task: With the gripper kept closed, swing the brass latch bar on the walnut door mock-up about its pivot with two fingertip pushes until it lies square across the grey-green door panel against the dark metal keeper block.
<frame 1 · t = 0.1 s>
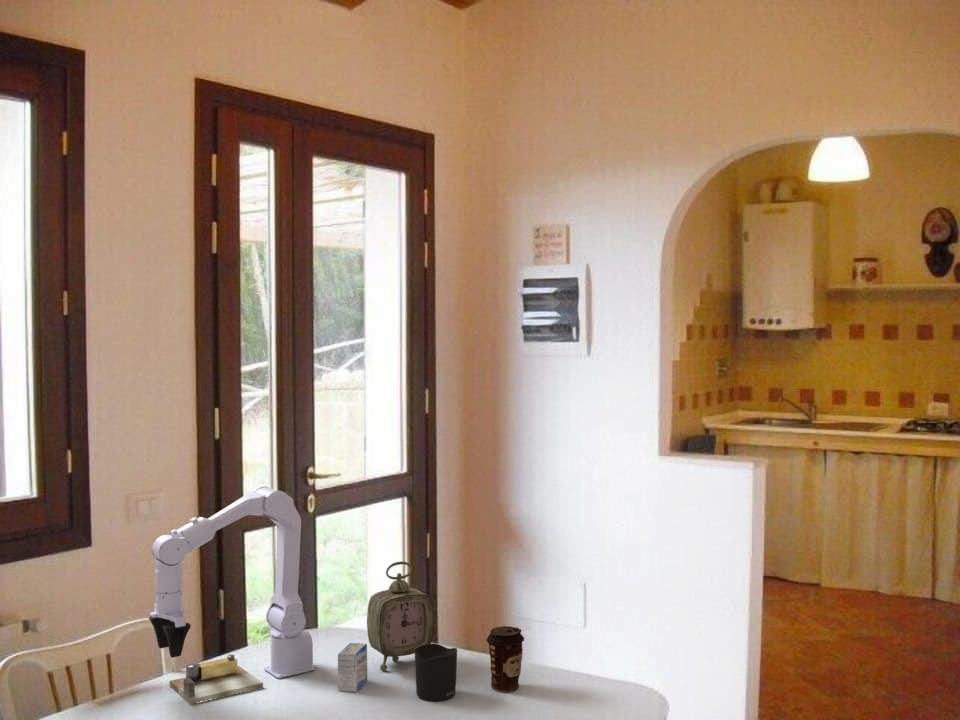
hand: (169, 651, 209), 10 cm above the table, tool pointing down, fingers open, 7 cm apart
latch bar: (211, 667, 218), point 4 cm above the table, hinge at 0.0°
coffee cup: (505, 688, 215), on the table
pen holder: (436, 695, 210), on the table
door mockup: (216, 687, 215), on the table
medicine box: (353, 686, 216), on the table
tabletop clock: (399, 664, 230), on the table
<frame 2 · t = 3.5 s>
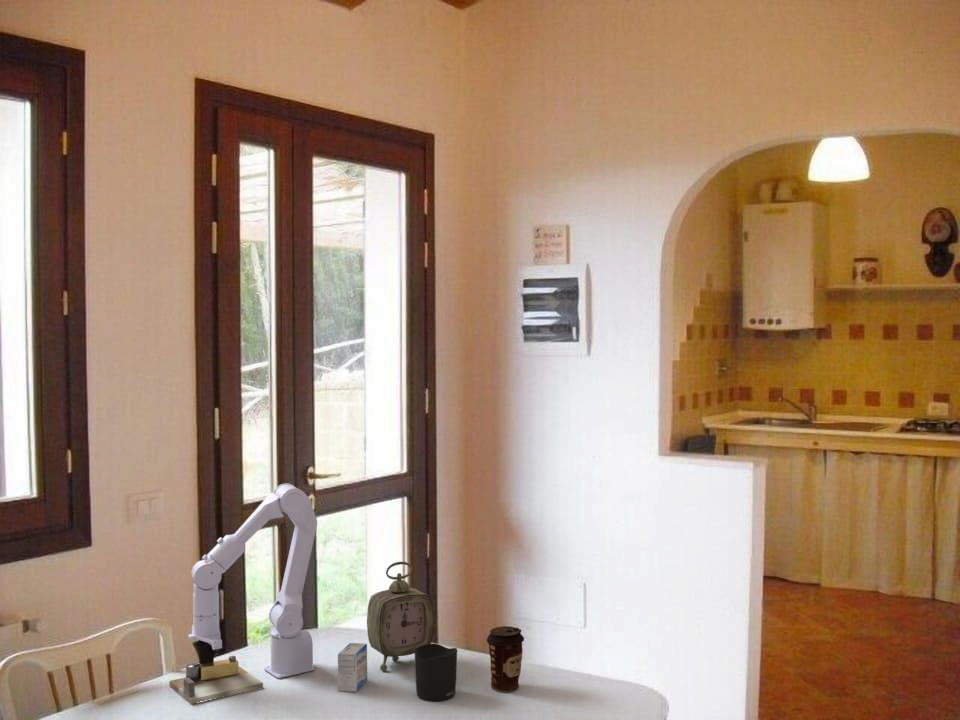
hand: (206, 671, 219), 2 cm above the table, tool pointing down, fingers closed, pressing on latch bar
latch bar: (211, 668, 217), point 4 cm above the table, hinge at 6.5°, touching gripper
everything else where it was.
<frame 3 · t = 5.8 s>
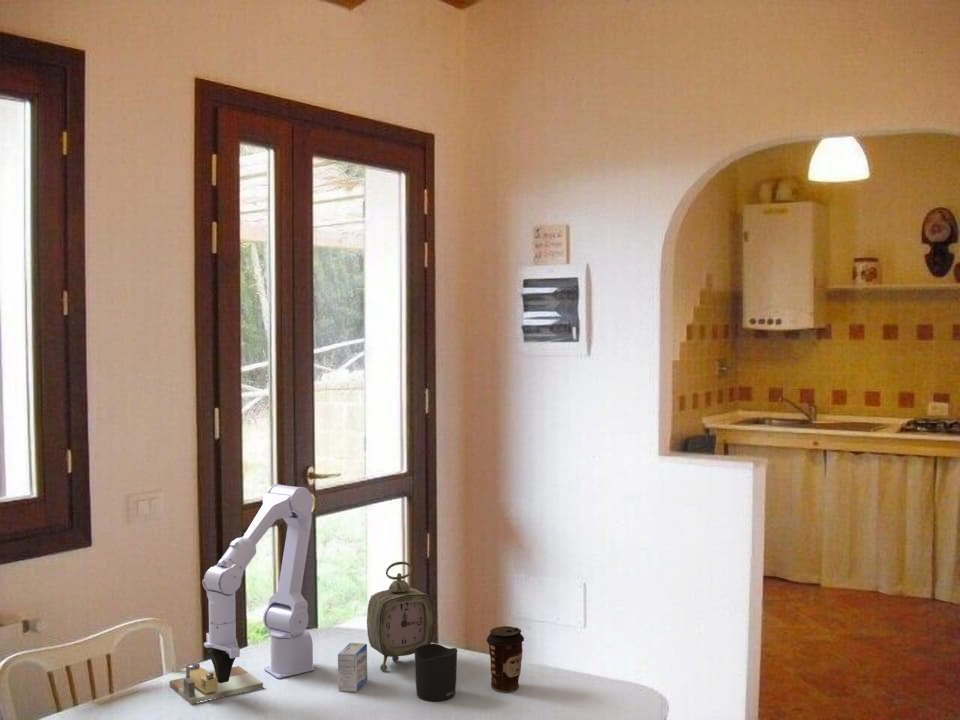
hand: (223, 681, 210), 3 cm above the table, tool pointing down, fingers closed
latch bar: (200, 676, 212), point 4 cm above the table, hinge at 86.7°
everything else where it was.
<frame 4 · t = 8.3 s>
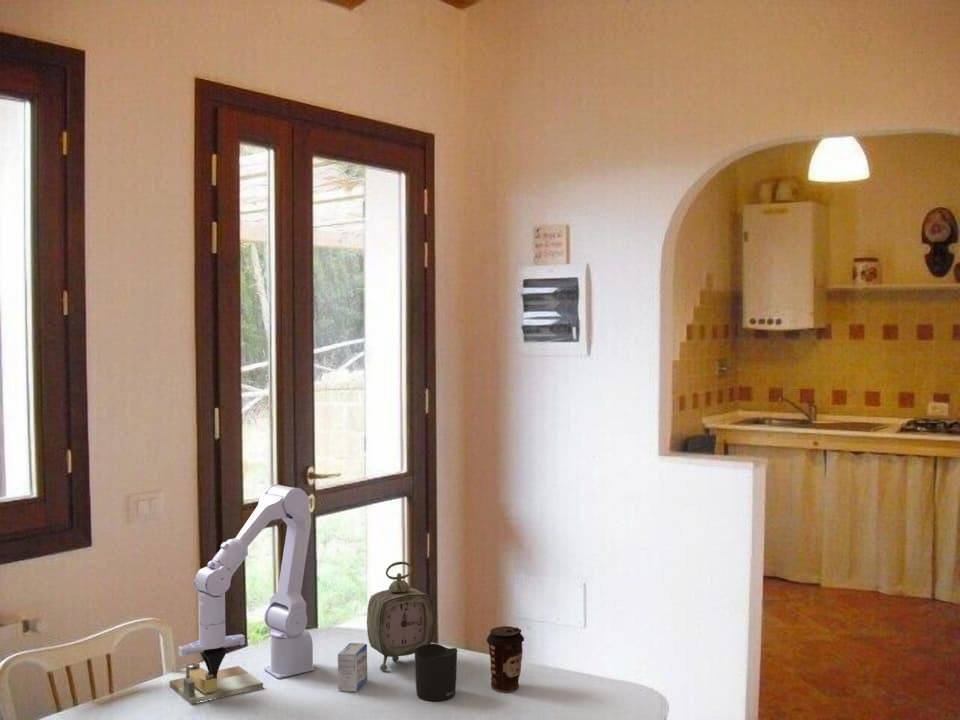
hand: (212, 682, 212), 2 cm above the table, tool pointing down, fingers closed, pressing on latch bar
latch bar: (200, 676, 212), point 4 cm above the table, hinge at 87.8°, touching gripper
everything else where it was.
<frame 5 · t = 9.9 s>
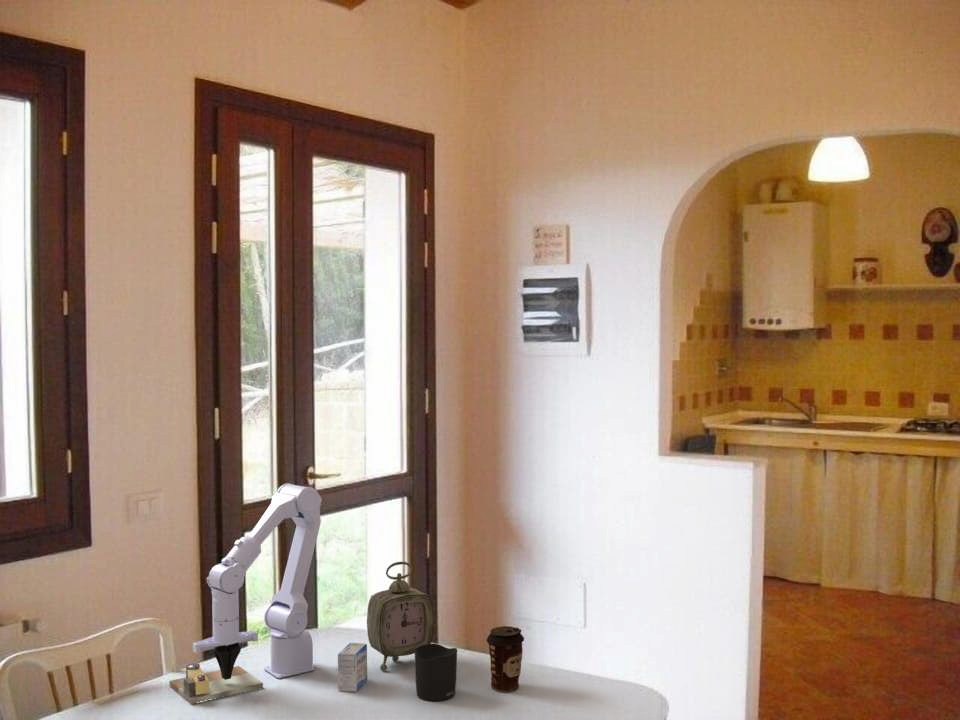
hand: (226, 678, 214), 3 cm above the table, tool pointing down, fingers closed
latch bar: (196, 677, 212), point 4 cm above the table, hinge at 98.6°
everything else where it was.
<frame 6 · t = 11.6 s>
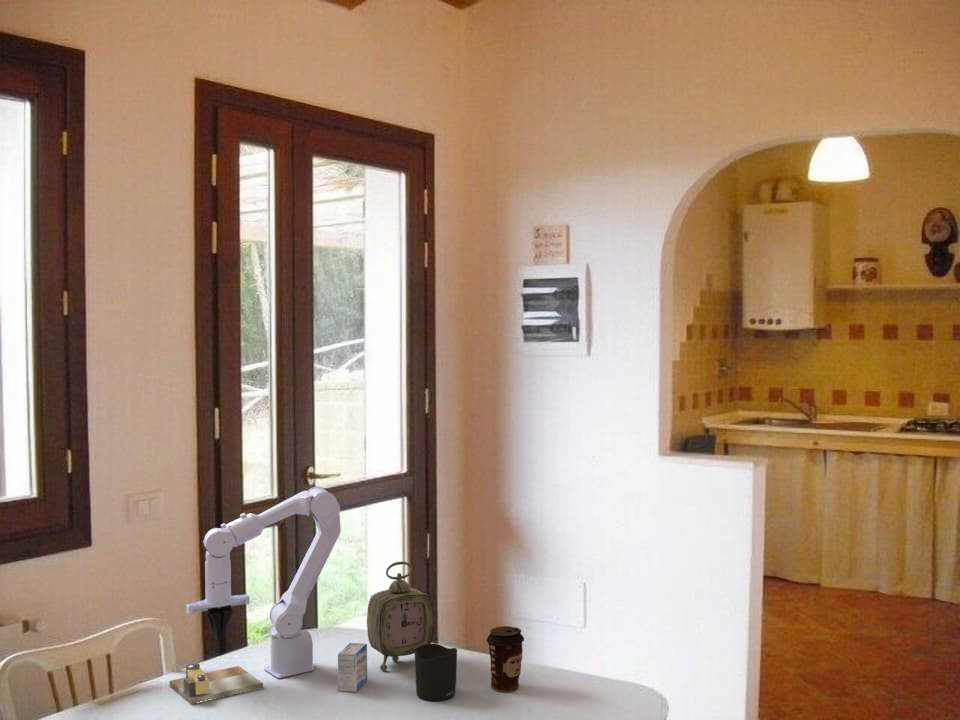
hand: (218, 639, 220), 9 cm above the table, tool pointing down, fingers closed
nothing on the table moved.
at the end: latch bar at +99° (first picture: +0°); the gripper is holding nothing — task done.
